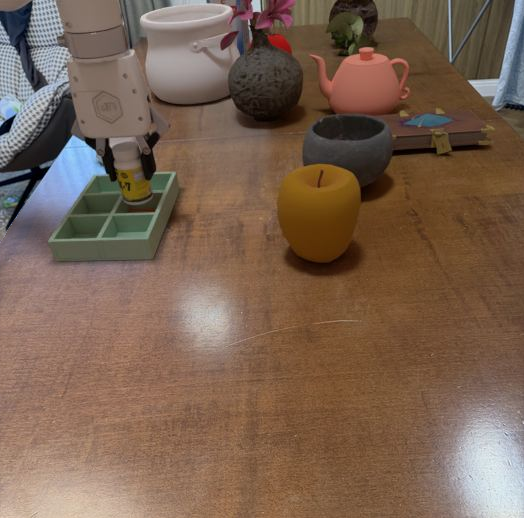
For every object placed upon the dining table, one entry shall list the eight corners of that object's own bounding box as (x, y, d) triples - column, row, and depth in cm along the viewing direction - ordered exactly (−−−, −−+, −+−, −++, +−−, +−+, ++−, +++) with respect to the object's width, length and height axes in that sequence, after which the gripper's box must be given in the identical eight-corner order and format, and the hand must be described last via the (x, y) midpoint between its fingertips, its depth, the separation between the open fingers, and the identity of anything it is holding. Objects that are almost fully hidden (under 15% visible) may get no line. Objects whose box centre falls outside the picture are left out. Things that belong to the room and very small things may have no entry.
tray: (55, 261, 76) (47, 241, 74) (99, 192, 92) (93, 174, 90) (153, 259, 75) (147, 238, 72) (179, 190, 91) (176, 171, 88)
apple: (275, 275, 70) (270, 188, 61) (285, 234, 77) (281, 151, 69) (355, 278, 68) (362, 189, 59) (357, 236, 76) (363, 151, 67)
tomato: (282, 82, 132) (280, 37, 125) (241, 78, 138) (238, 34, 131) (302, 70, 139) (301, 27, 132) (263, 66, 144) (260, 24, 137)
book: (347, 134, 107) (348, 108, 103) (466, 125, 106) (470, 100, 102) (359, 162, 94) (361, 134, 91) (493, 153, 93) (500, 124, 90)
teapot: (310, 126, 109) (310, 62, 100) (308, 102, 120) (308, 42, 111) (413, 121, 107) (422, 55, 98) (402, 97, 118) (409, 36, 110)
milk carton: (213, 61, 152) (203, -20, 138) (220, 56, 156) (211, -24, 142) (244, 62, 149) (237, -21, 135) (251, 56, 153) (245, -25, 140)
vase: (306, 128, 108) (304, -49, 88) (225, 134, 109) (205, -40, 88) (301, 102, 120) (298, -59, 100) (228, 107, 121) (211, -51, 100)
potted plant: (328, 44, 163) (320, 66, 137) (332, -13, 154) (324, -3, 127) (377, 46, 162) (378, 68, 135) (384, -12, 152) (387, -1, 125)
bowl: (284, 186, 89) (282, 128, 82) (343, 159, 96) (345, 103, 89) (346, 214, 81) (349, 152, 74) (406, 183, 87) (414, 123, 80)
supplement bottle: (118, 200, 81) (102, 147, 75) (142, 189, 83) (129, 137, 77) (134, 209, 78) (120, 155, 72) (159, 197, 80) (147, 144, 74)
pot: (131, 95, 133) (113, 17, 121) (202, 72, 144) (192, -2, 132) (191, 116, 119) (177, 30, 107) (265, 88, 130) (260, 7, 118)
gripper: (24, 55, 63) (72, 190, 76) (156, 46, 62) (182, 186, 74) (46, 40, 69) (87, 169, 81) (168, 32, 67) (191, 164, 80)
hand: (132, 176), depth 78 cm, fingers closed on supplement bottle, 4 cm apart
